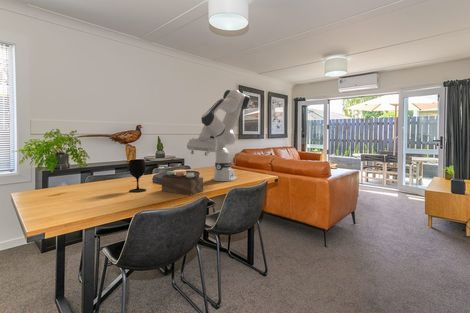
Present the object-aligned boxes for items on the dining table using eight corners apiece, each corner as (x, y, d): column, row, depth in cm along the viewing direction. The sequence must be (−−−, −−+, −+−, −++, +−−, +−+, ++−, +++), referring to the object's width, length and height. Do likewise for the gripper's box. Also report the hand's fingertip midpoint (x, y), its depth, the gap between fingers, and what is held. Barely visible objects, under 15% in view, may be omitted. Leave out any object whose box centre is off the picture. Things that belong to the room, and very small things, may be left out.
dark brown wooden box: (174, 187, 180) (174, 173, 179) (202, 191, 168) (202, 176, 167) (161, 190, 169) (161, 175, 168) (191, 195, 158) (191, 179, 157)
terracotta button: (179, 174, 169) (179, 171, 169) (185, 175, 167) (185, 172, 167) (174, 176, 165) (174, 172, 165) (180, 176, 163) (180, 173, 162)
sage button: (170, 173, 173) (170, 170, 173) (176, 174, 171) (176, 171, 171) (164, 174, 169) (164, 171, 169) (170, 175, 166) (170, 172, 166)
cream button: (189, 176, 166) (189, 172, 165) (195, 176, 163) (195, 173, 163) (184, 177, 161) (184, 173, 161) (190, 177, 159) (190, 174, 159)
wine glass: (135, 193, 161) (134, 161, 159) (125, 191, 167) (125, 160, 166) (149, 190, 169) (149, 159, 168) (140, 188, 176) (139, 158, 174)
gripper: (189, 134, 178) (182, 149, 169) (218, 137, 174) (213, 152, 165) (191, 141, 182) (184, 155, 173) (219, 144, 178) (214, 159, 169)
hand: (198, 154), depth 169 cm, fingers open, 8 cm apart
